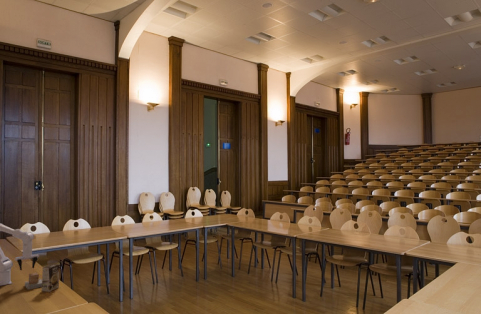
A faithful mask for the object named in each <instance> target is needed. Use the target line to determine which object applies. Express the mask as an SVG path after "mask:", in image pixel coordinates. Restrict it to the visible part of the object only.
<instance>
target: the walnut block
mask: <svg viewBox="0 0 481 314" xmlns="http://www.w3.org/2000/svg"><path fill="white" fill-rule="evenodd" d="M39 279H40V278H39V273H38V272H33V273H28V281H29V283H30V284H35V283H39Z"/></svg>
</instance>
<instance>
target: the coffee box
mask: <svg viewBox="0 0 481 314" xmlns="http://www.w3.org/2000/svg"><path fill="white" fill-rule="evenodd" d="M41 275H42V276H41V277H42V279H41V280H42V287H41V292H48V293H51V292H52V291H53V290H56V289H58V288H59V287H60V263H59V264H56V263H51V264H48V265H45V266H43V267H42V273H41Z"/></svg>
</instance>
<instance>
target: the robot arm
mask: <svg viewBox="0 0 481 314" xmlns="http://www.w3.org/2000/svg"><path fill="white" fill-rule="evenodd" d="M0 232H3V233H7V234H9V235H12V237H13V238H16V239H18V240H21V242H22V256H17V257H14V261H16V263H17V264H18V266H19V270H20V271H23V269H22V265H23V261H22V260H29V259H31V261H32V262H31V263H32V264H31V265H32V267H31V268H32V269H34V268H35V265H36V263H37V260H38V258H39V257H40V254H37V253H36V254H33V240H34V238H35V235H34V233H32V232H27V231H23V230H21V228H17V229H13V228H11V227H9V226H7V225H4V224H3V223H0ZM13 266H14V263H13V261H12V260H11V259H10V258H9V257H8V256H7V255H5V253H4V250H3V249H2V247H1V246H0V286H6V285H11V284H13V282H12V281H11V279H12V278H11V277H12V275H11V273H12V272H11V270H12V268H13Z"/></svg>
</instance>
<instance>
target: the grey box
mask: <svg viewBox="0 0 481 314" xmlns="http://www.w3.org/2000/svg"><path fill="white" fill-rule="evenodd" d="M24 287H25V288H26V289H27V290H28V291H29V290H34V289H36V288H42V279H41V278H39V283H35V284H30V283H29V280H28V281H25V282H24Z"/></svg>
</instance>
